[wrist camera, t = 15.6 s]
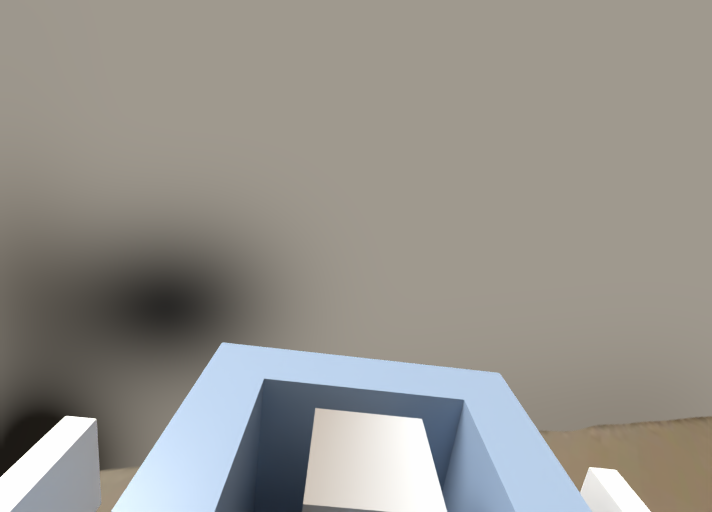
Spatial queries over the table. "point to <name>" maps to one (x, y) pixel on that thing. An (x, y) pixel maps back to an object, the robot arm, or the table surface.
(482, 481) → the sleeve
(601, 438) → the table surface
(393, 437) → the post stand
